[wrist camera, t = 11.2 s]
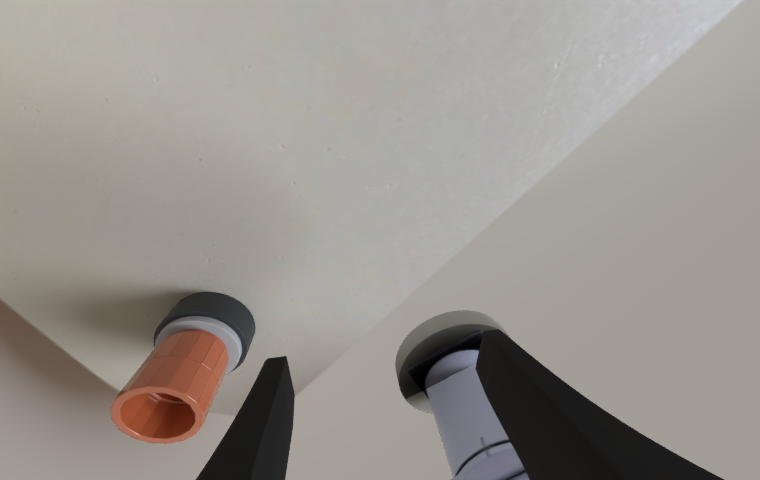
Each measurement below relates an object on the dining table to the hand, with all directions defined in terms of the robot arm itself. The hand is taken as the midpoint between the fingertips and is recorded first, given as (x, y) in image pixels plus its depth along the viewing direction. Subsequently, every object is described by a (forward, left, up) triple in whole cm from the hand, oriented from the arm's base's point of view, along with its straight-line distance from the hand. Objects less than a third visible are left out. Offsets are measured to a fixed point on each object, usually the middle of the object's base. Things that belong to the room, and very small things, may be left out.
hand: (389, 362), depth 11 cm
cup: (+1, +12, -7) cm, 14 cm away
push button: (+1, +12, -10) cm, 15 cm away
